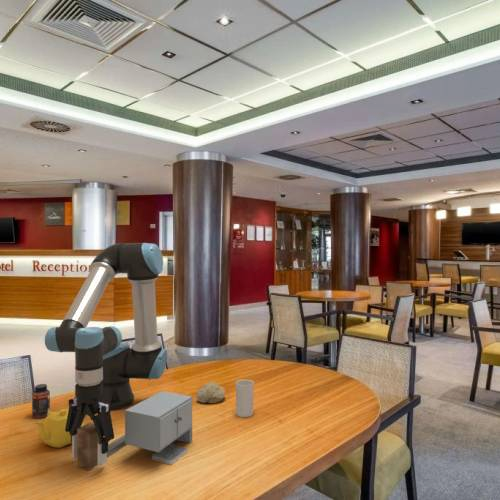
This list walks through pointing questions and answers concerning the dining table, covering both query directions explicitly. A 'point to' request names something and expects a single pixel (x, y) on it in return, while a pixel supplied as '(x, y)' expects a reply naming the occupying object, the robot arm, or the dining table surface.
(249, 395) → the mug
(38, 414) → the supplement bottle
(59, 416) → the teapot
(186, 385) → the dining table surface
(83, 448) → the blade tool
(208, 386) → the decorative item
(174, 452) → the plate
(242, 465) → the dining table surface
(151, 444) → the low cabinet
